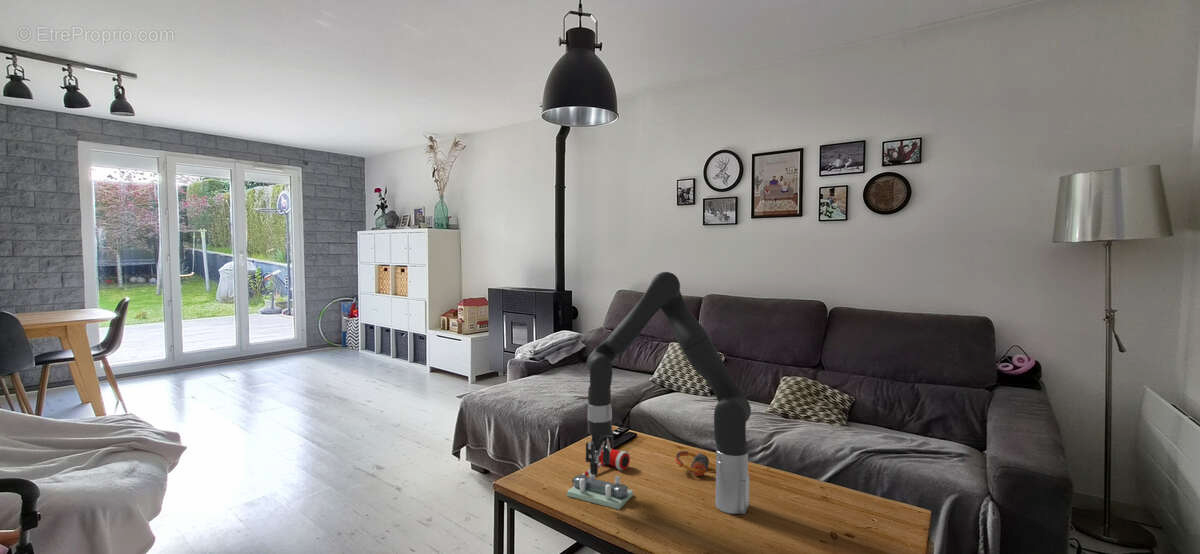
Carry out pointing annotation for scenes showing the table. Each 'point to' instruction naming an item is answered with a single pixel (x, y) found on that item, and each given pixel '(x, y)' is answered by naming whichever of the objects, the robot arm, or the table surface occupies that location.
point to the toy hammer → (613, 460)
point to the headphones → (695, 463)
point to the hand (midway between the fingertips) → (600, 468)
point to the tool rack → (599, 495)
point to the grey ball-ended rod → (602, 487)
